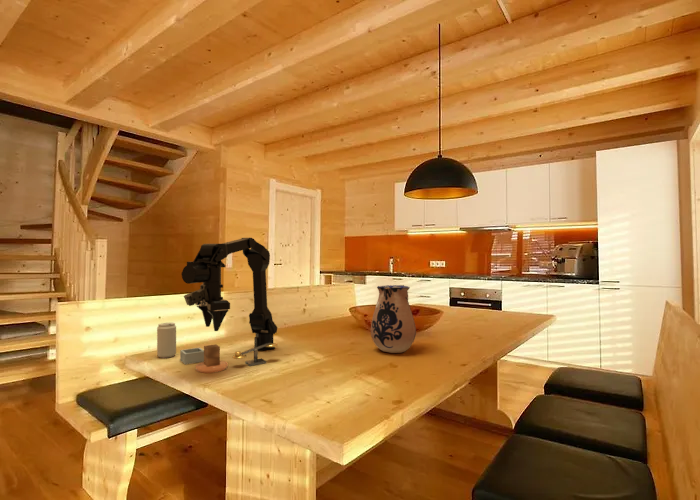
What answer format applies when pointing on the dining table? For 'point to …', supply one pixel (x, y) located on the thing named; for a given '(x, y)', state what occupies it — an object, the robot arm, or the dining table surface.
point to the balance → (256, 361)
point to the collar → (192, 355)
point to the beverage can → (166, 340)
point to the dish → (211, 367)
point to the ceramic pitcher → (393, 320)
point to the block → (211, 355)
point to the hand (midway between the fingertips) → (211, 328)
